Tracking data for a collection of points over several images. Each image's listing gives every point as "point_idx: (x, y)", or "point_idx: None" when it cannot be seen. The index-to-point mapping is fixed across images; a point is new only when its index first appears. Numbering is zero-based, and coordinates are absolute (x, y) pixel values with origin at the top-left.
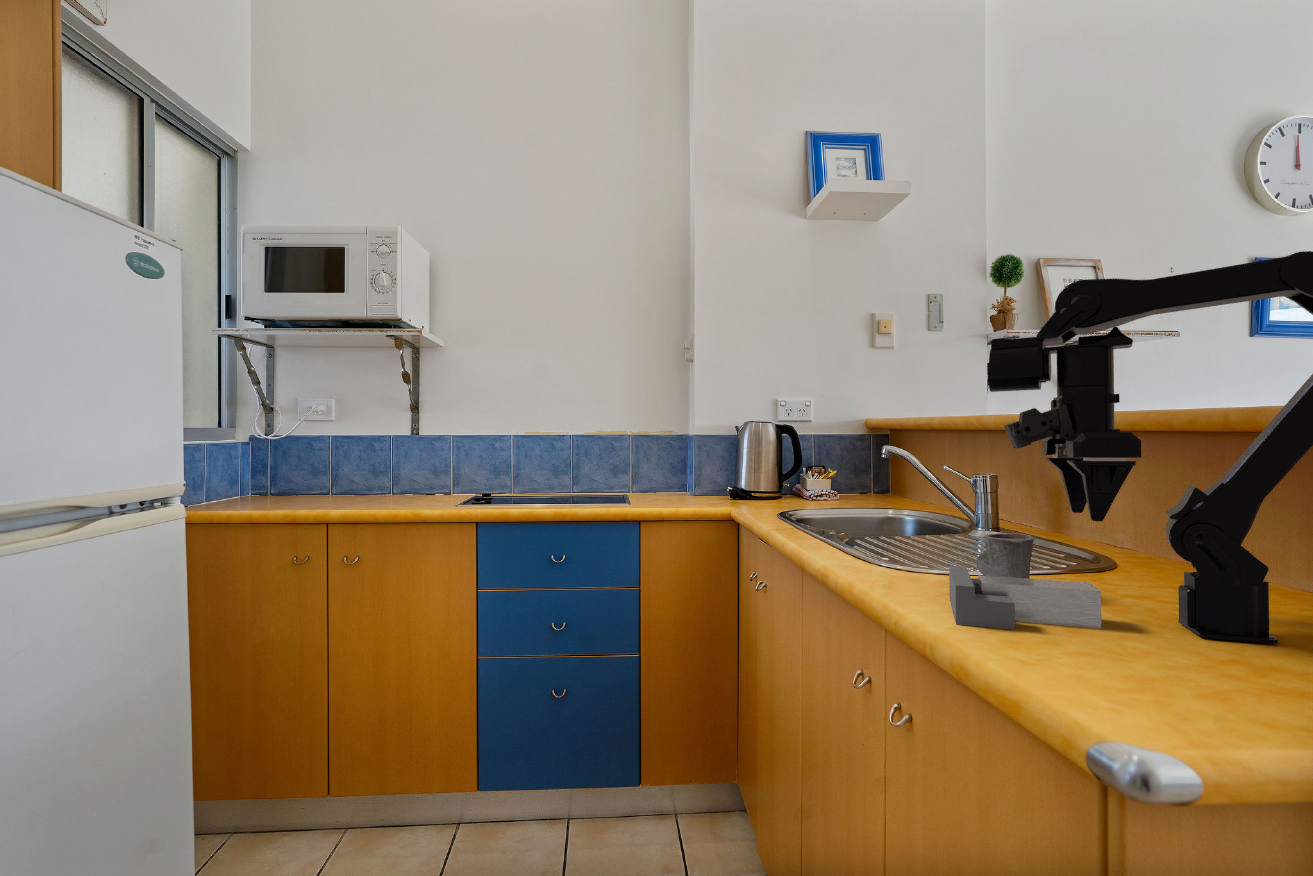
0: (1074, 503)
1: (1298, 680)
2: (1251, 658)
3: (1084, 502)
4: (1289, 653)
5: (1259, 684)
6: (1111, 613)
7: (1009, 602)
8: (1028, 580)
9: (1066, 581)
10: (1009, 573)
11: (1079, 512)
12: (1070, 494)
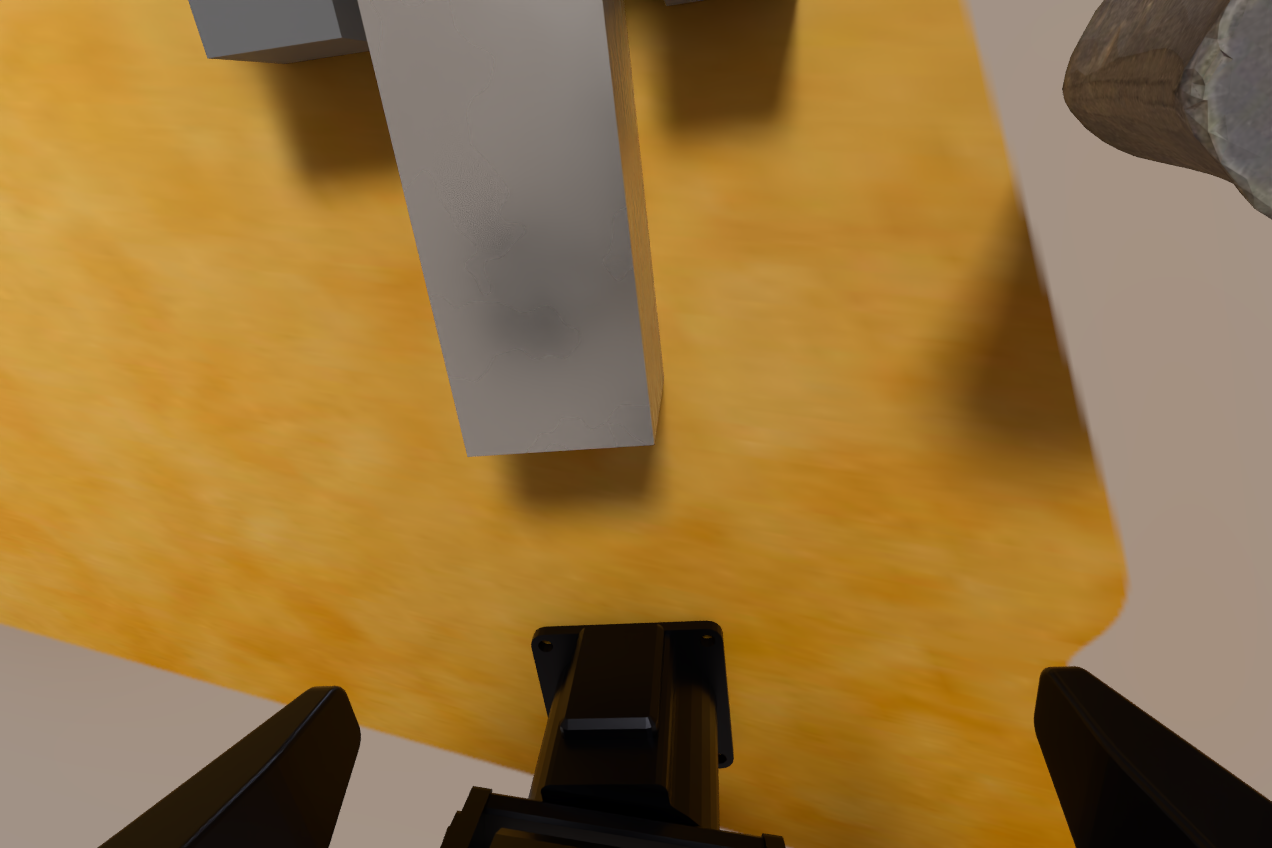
0: (1090, 758)
1: (266, 694)
2: (399, 671)
3: (1083, 841)
4: (503, 750)
5: (173, 623)
6: (788, 458)
7: (201, 30)
8: (555, 145)
9: (628, 342)
10: (1127, 31)
11: (1039, 710)
12: (1166, 835)
